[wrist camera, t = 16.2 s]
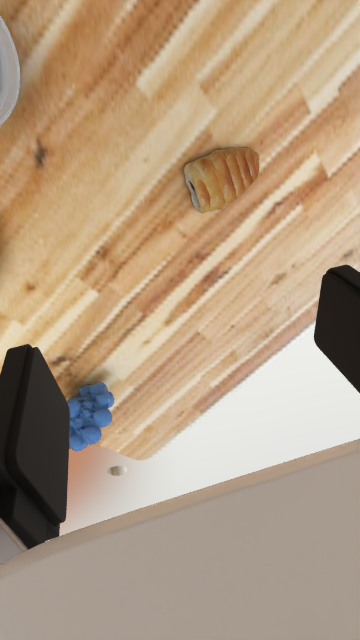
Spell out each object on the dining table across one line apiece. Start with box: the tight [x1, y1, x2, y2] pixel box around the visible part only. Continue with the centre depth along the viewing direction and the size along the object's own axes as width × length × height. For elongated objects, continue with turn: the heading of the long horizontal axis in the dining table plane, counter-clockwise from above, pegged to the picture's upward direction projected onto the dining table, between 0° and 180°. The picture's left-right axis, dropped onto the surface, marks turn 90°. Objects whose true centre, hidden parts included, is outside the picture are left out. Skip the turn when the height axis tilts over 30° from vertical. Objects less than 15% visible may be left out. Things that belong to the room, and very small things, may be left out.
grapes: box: [67, 382, 114, 451], centre depth 51 cm, size 12×7×12 cm, turn 132°
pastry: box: [184, 147, 259, 213], centre depth 40 cm, size 9×7×4 cm
